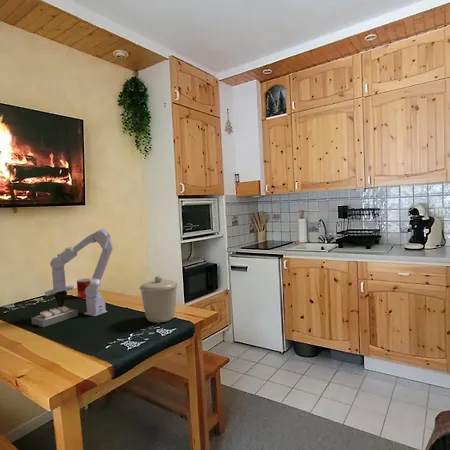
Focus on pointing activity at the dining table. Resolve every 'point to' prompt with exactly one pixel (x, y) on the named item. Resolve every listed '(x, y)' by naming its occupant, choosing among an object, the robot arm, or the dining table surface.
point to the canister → (159, 299)
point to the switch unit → (54, 318)
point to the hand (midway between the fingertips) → (61, 306)
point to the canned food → (82, 287)
